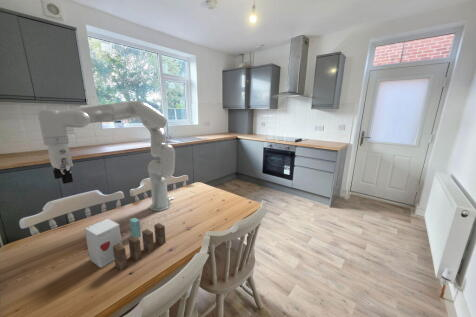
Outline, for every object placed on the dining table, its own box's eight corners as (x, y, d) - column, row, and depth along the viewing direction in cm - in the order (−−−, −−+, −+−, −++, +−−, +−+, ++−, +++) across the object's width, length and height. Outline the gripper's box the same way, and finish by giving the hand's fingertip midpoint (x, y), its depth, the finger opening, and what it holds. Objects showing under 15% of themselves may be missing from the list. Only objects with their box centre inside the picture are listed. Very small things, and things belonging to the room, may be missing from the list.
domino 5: (159, 239, 93) (158, 222, 91) (165, 242, 91) (164, 225, 89) (155, 241, 91) (154, 225, 89) (161, 245, 89) (160, 228, 87)
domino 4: (148, 246, 89) (147, 228, 86) (154, 249, 86) (152, 232, 84) (143, 248, 87) (141, 231, 85) (149, 252, 84) (147, 234, 82)
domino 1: (121, 262, 79) (119, 243, 77) (127, 266, 76) (125, 247, 74) (115, 265, 77) (112, 246, 75) (121, 270, 74) (118, 250, 72)
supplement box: (100, 268, 75) (95, 235, 72) (89, 260, 79) (83, 228, 76) (123, 254, 83) (119, 223, 79) (112, 247, 87) (107, 217, 84)
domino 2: (136, 233, 98) (134, 217, 95) (140, 236, 95) (139, 220, 93) (131, 235, 96) (129, 219, 94) (136, 238, 93) (134, 222, 91)
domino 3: (135, 253, 84) (133, 235, 82) (141, 257, 81) (139, 239, 79) (130, 256, 82) (128, 238, 80) (136, 261, 79) (134, 242, 77)
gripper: (76, 141, 76) (82, 182, 80) (60, 138, 85) (67, 174, 89) (50, 143, 70) (59, 187, 74) (37, 139, 79) (45, 178, 83)
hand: (63, 180), depth 82 cm, fingers open, 9 cm apart
